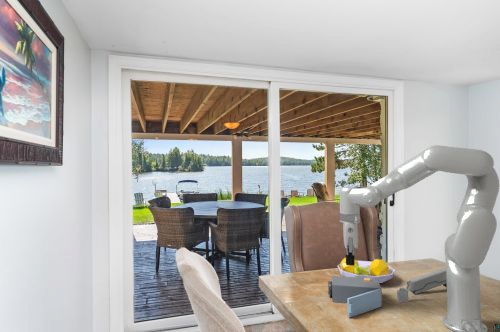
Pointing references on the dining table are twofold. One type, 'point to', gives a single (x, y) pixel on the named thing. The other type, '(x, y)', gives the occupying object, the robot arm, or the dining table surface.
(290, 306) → the dining table surface
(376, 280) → the grey block
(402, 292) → the pale grey angled bracket
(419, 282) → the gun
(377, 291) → the side door
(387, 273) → the fruit bowl
